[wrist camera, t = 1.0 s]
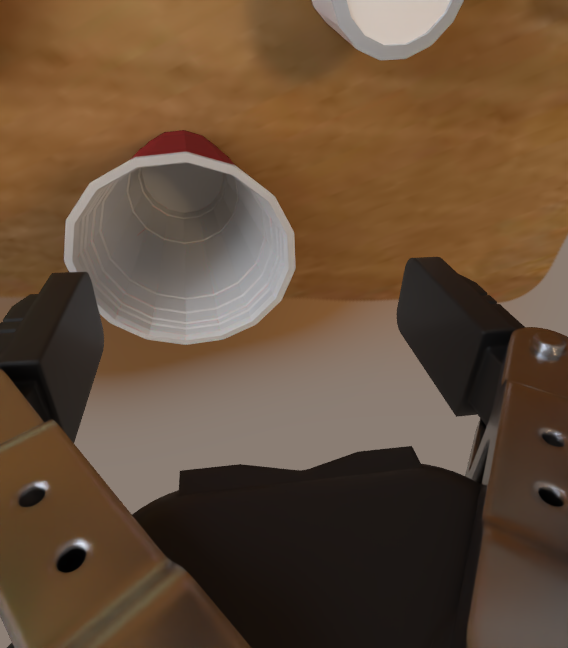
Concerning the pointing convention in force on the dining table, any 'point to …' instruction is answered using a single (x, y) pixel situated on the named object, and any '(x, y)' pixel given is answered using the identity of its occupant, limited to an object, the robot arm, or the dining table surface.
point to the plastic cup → (181, 243)
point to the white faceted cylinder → (389, 24)
